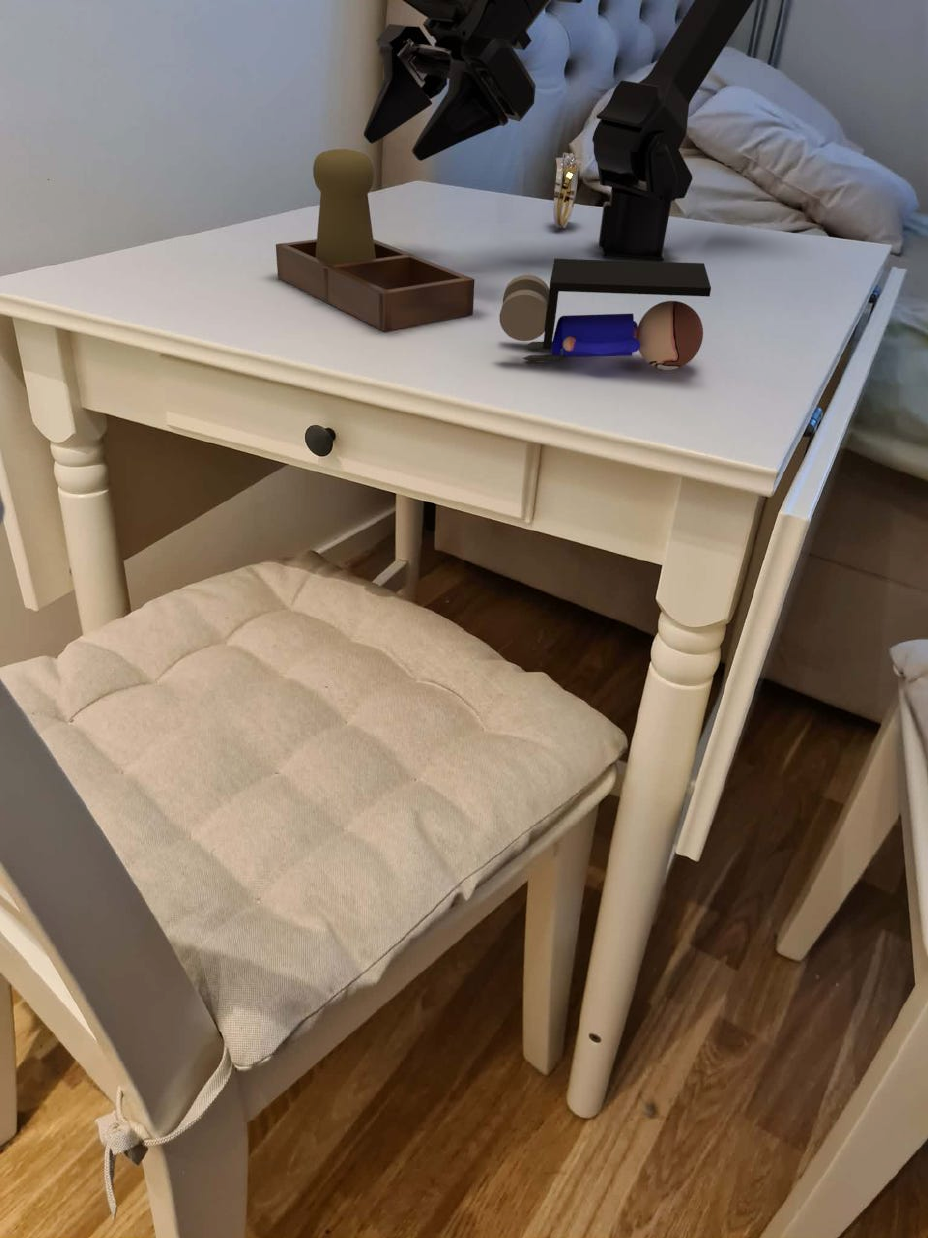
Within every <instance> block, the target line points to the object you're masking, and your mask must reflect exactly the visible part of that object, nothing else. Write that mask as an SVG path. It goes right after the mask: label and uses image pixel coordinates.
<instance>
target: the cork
mask: <svg viewBox="0 0 928 1238" xmlns="http://www.w3.org/2000/svg"><path fill="white" fill-rule="evenodd" d="M312 174H313V179H314V183H315V185H316V188H317V189H318V190H319V192H320V196H319V197H320V198H319V208H318V219H317V220H318V222H317V234H316V239H317V245H316V257H315V258H317V259H319V260H321V261H323V262H325V263H328V264H330V265H335V264H342V263H349V262H357V261H364V260H371V259H376V255H375V247H374V239H375V238H374V232H373V223H372V217H371V209H370V201H369V195H368V194H369V193H370V191H371V189H372V188H373V186H374V181H375V169H374V165H373V162H372V160H371V159H370V157H369V156H368V155H367V154H366V153H363V152H360V151H357V150H354V149H347V148H335V149H329V150H325V151H321V152H320V153H319V154H318V155H317V156H316V157H315V160H314V161H313V167H312Z"/></svg>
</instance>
